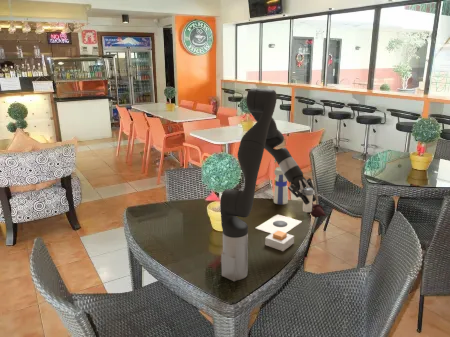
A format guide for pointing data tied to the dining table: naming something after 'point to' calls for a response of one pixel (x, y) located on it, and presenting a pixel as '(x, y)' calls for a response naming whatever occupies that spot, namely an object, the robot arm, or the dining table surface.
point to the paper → (278, 224)
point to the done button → (280, 235)
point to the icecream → (317, 210)
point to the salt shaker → (309, 195)
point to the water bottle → (280, 187)
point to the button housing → (279, 242)
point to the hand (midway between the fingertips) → (311, 202)
